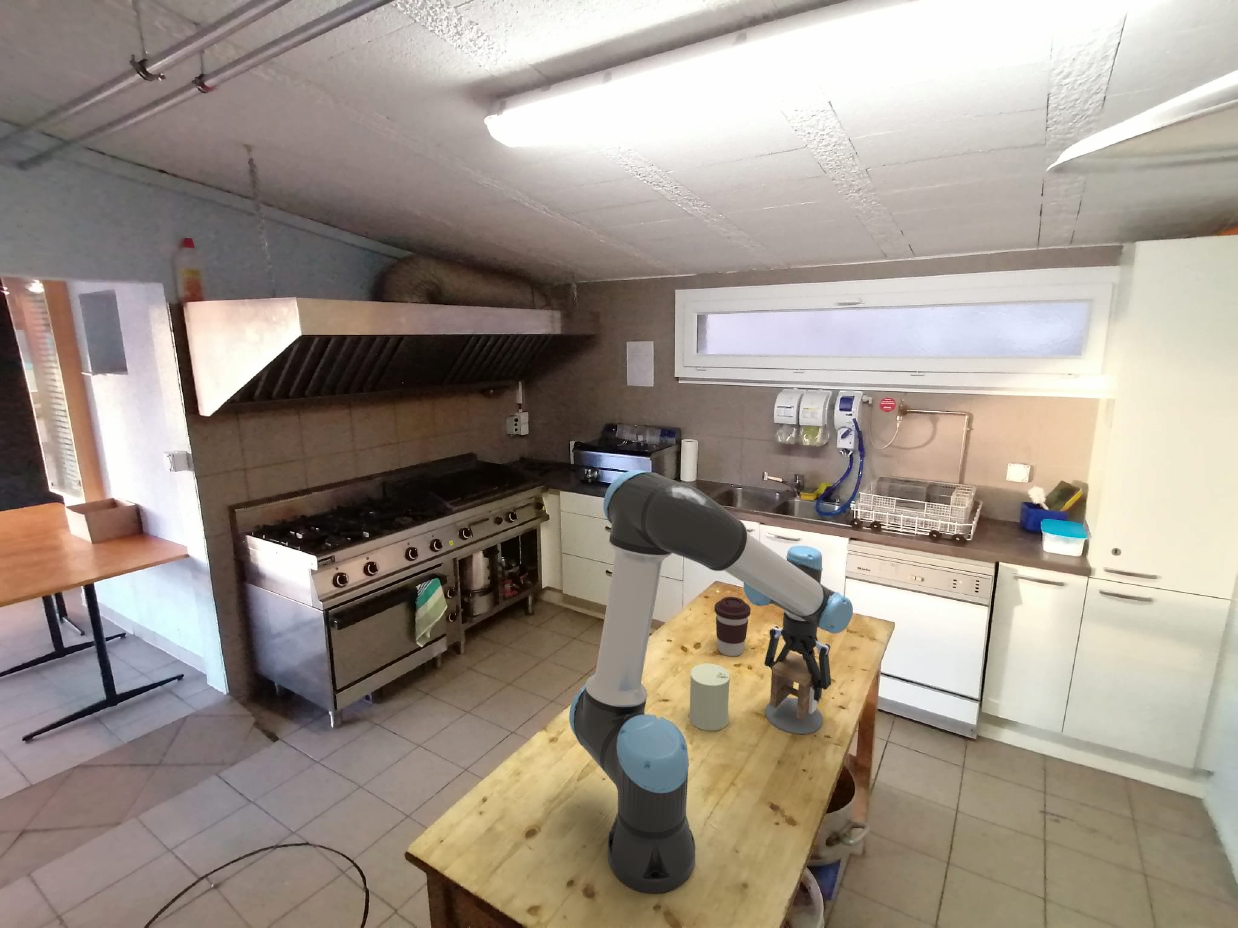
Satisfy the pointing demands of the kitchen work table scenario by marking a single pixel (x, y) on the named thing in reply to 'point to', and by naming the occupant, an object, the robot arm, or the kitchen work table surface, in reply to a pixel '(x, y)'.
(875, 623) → the kitchen work table surface
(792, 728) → the rubber mat
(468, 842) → the kitchen work table surface
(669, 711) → the kitchen work table surface
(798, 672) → the wooden stool
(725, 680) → the can
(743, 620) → the coffee cup
